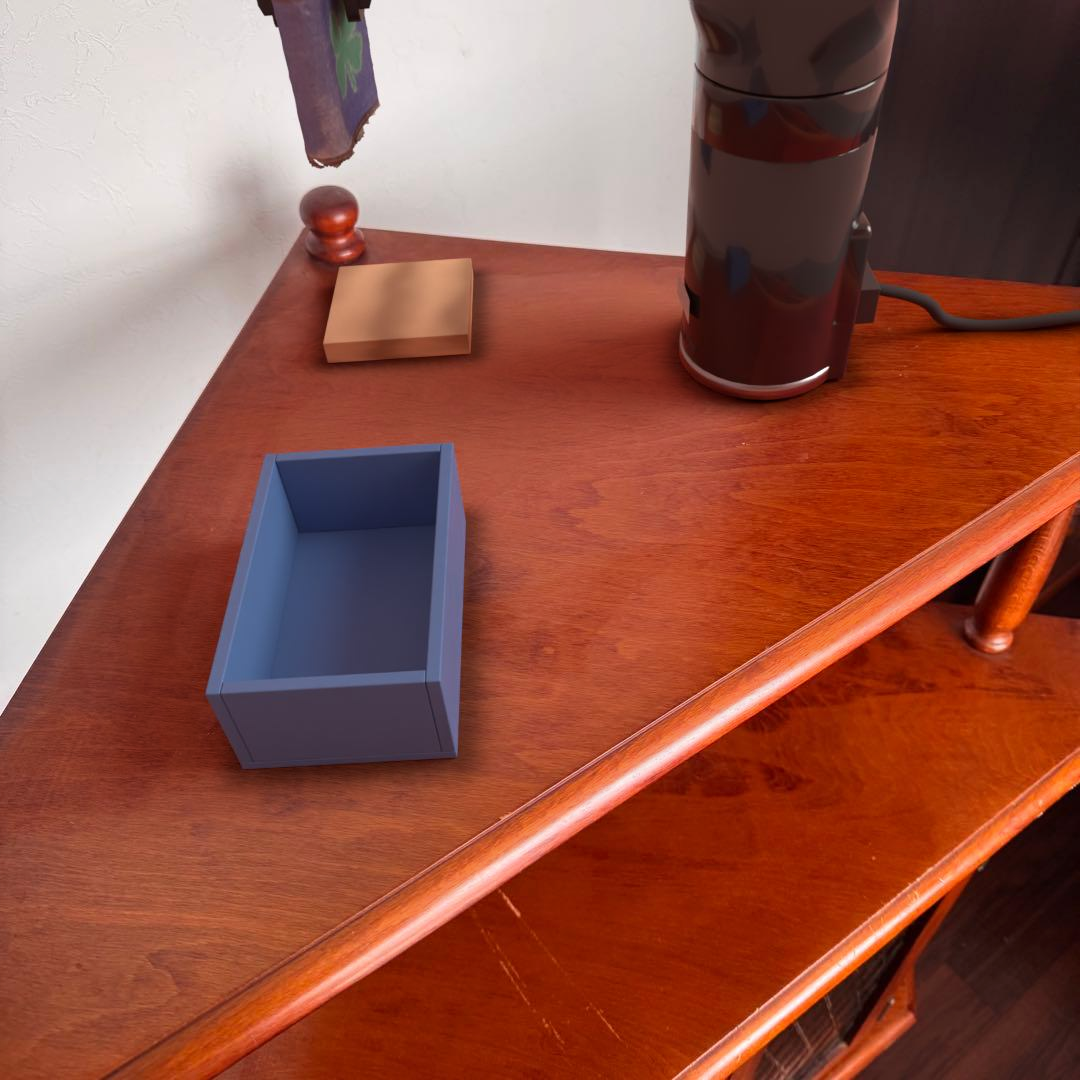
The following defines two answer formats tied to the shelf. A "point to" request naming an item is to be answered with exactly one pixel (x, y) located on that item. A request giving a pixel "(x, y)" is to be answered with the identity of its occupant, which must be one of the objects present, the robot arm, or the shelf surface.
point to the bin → (346, 611)
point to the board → (400, 311)
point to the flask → (327, 76)
